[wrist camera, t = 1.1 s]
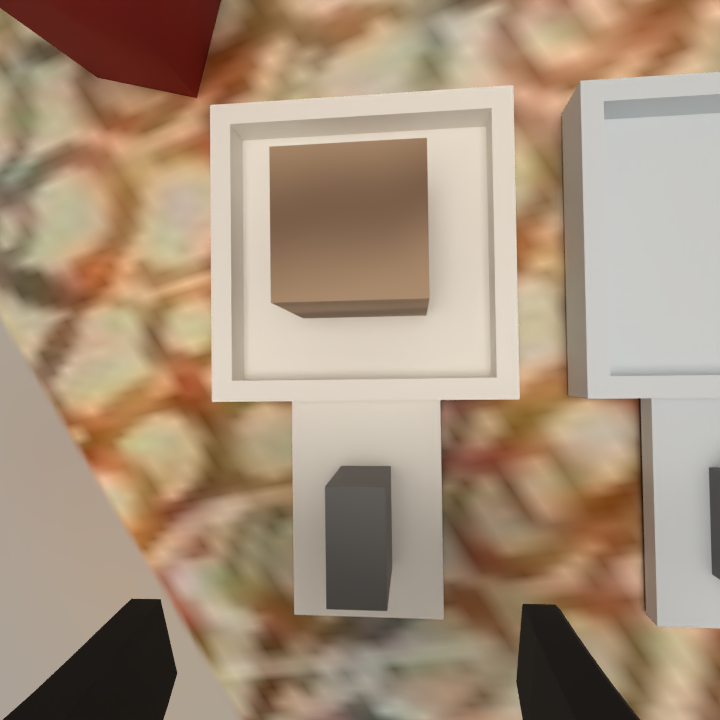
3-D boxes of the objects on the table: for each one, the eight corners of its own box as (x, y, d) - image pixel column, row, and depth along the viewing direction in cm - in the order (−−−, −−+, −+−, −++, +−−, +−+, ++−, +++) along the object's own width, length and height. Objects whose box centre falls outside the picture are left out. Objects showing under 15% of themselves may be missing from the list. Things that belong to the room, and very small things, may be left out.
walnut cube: (426, 315, 22) (429, 298, 17) (303, 318, 22) (270, 302, 17) (424, 191, 22) (427, 137, 17) (301, 197, 22) (269, 146, 17)
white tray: (512, 610, 22) (540, 680, 17) (235, 602, 23) (185, 664, 18) (502, 117, 22) (527, 44, 17) (231, 133, 24) (182, 69, 19)
